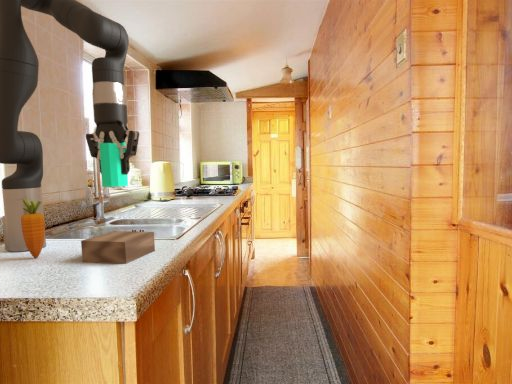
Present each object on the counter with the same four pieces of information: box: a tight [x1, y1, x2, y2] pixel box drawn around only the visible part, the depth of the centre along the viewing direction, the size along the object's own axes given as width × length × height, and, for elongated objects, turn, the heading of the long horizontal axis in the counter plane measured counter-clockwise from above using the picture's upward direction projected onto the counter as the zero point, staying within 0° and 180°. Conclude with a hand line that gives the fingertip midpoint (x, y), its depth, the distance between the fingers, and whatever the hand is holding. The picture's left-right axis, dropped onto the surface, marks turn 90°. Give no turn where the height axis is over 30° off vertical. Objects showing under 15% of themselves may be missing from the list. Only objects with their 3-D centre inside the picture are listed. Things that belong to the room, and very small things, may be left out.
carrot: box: [21, 199, 46, 259], centre depth 87 cm, size 5×5×15 cm
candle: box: [98, 142, 129, 188], centre depth 85 cm, size 6×6×12 cm
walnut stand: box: [80, 230, 156, 264], centre depth 86 cm, size 12×12×5 cm
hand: (114, 174), depth 85 cm, fingers closed on candle, 4 cm apart
